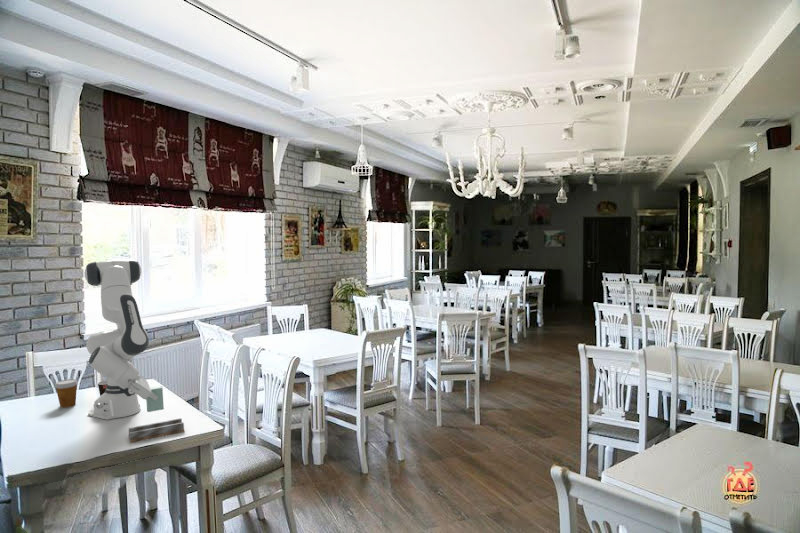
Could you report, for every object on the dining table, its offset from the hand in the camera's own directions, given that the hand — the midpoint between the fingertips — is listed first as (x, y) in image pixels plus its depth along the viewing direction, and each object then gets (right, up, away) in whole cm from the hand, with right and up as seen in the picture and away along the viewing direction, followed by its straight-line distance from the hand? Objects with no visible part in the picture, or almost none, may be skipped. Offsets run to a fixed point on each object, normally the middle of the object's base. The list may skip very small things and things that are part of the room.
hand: (156, 397), depth 217 cm
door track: (0, -15, +1) cm, 15 cm away
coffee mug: (-44, -14, +44) cm, 64 cm away
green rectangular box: (0, -5, 0) cm, 5 cm away
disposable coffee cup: (-62, -15, +41) cm, 76 cm away
